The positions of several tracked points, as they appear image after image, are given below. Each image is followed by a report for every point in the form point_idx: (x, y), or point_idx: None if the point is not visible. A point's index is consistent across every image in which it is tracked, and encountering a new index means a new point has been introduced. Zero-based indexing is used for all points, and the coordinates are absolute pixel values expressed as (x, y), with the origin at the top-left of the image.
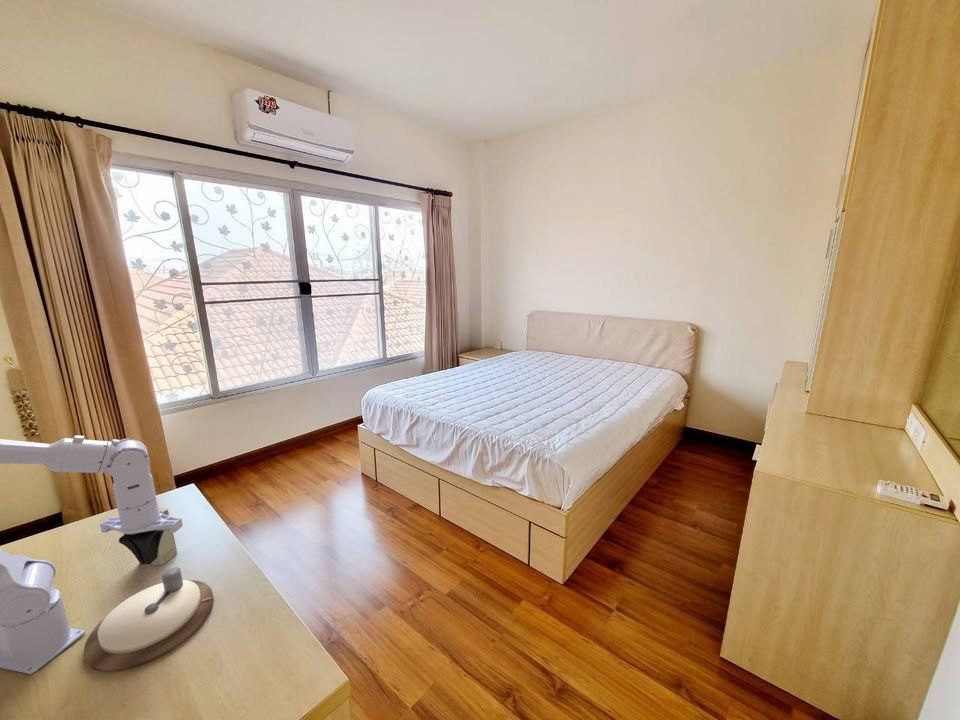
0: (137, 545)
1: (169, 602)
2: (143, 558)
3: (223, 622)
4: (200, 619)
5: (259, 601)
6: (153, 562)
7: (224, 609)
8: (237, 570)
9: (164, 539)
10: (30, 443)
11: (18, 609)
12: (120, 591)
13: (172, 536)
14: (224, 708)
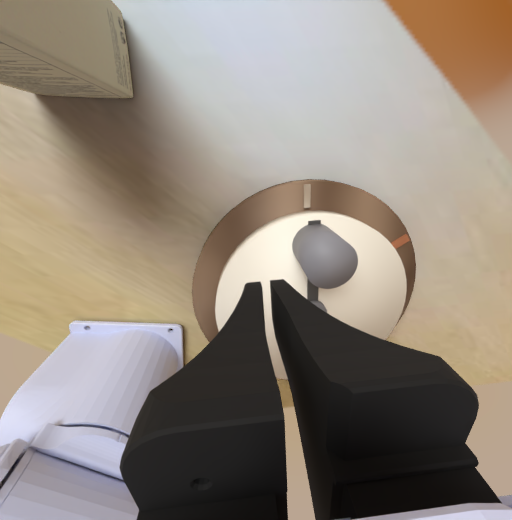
0: (306, 464)
1: (338, 288)
2: (280, 351)
3: (444, 273)
4: (411, 290)
5: (507, 216)
6: (94, 95)
7: (433, 245)
8: (412, 105)
9: (69, 16)
10: None
11: None
12: (121, 218)
13: None
14: (496, 380)
